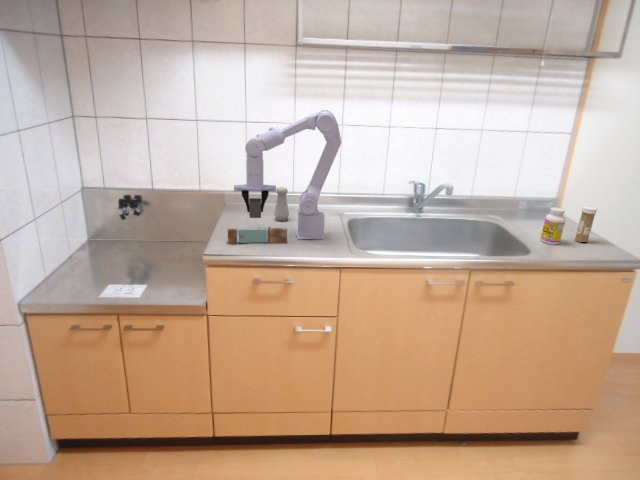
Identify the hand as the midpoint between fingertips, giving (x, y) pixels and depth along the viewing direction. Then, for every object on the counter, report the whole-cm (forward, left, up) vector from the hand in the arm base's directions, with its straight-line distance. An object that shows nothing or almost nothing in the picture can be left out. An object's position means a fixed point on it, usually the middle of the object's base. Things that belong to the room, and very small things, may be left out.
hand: (255, 211), depth 160 cm
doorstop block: (0, 0, -2) cm, 2 cm away
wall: (-1, +9, -9) cm, 12 cm away
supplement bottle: (-109, +13, -9) cm, 110 cm away
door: (+1, +9, -8) cm, 12 cm away
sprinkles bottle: (-122, +13, -9) cm, 123 cm away
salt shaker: (-11, -15, -9) cm, 20 cm away
